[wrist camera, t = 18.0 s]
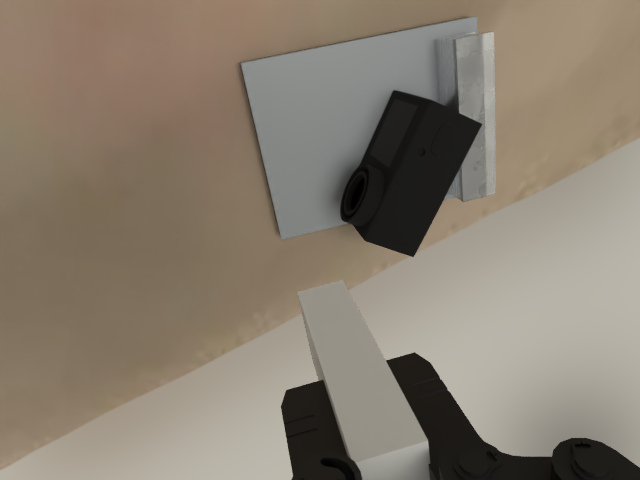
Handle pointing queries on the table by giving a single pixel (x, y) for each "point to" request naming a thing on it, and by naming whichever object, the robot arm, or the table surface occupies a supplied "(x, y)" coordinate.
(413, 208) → the digital camera
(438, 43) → the rail
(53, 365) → the table surface
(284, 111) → the mounting plate
